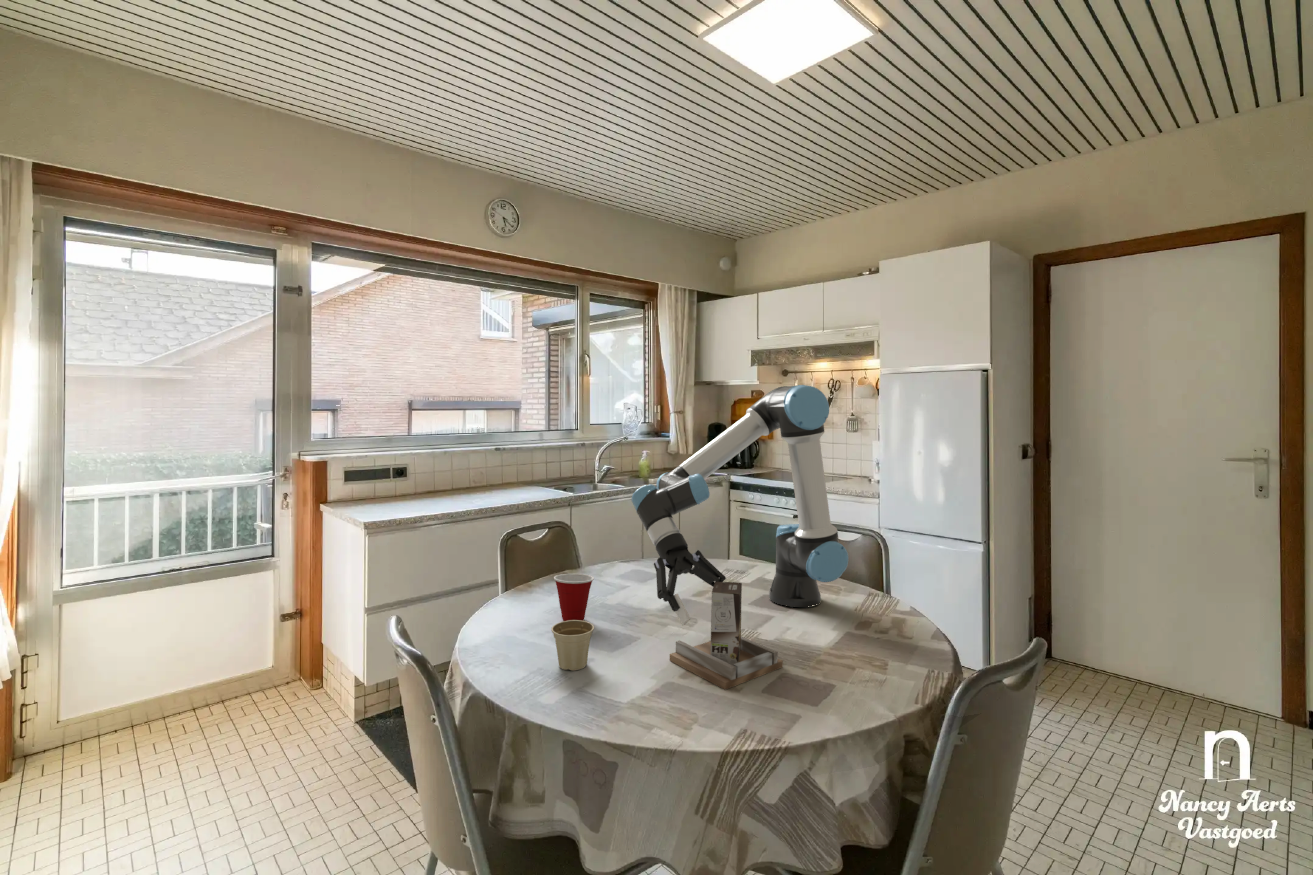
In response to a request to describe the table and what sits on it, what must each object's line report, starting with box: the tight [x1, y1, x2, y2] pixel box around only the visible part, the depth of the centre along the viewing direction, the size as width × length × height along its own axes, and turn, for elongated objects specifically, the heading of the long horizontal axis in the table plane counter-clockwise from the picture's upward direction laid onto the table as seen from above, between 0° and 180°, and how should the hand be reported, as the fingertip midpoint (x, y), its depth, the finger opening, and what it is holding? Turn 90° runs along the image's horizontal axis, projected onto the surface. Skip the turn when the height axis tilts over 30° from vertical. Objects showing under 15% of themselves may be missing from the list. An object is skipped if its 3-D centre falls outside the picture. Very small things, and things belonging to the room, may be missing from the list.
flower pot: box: [551, 620, 595, 671], centre depth 136 cm, size 9×9×9 cm
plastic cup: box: [553, 573, 595, 622], centre depth 165 cm, size 11×11×12 cm
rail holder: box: [669, 636, 784, 690], centre depth 138 cm, size 18×18×4 cm
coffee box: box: [710, 581, 743, 666], centre depth 138 cm, size 9×6×16 cm
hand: (708, 616), depth 142 cm, fingers open, 13 cm apart
